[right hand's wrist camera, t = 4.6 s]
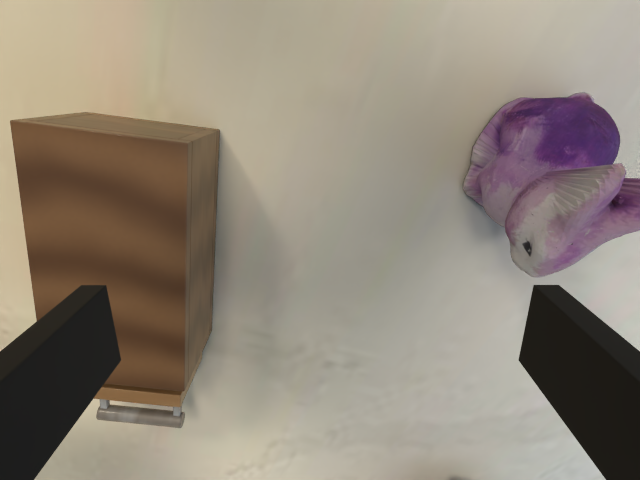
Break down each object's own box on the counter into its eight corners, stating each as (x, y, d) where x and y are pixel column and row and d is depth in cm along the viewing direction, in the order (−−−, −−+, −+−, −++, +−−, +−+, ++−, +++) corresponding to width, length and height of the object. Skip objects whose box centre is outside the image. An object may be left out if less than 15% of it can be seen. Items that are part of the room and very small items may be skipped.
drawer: (200, 404, 41) (179, 458, 35) (106, 394, 41) (68, 448, 35) (207, 177, 33) (182, 197, 27) (89, 162, 33) (37, 179, 27)
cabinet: (211, 330, 39) (184, 392, 31) (99, 318, 39) (43, 377, 31) (219, 129, 33) (187, 143, 25) (85, 112, 32) (9, 120, 24)
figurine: (459, 229, 35) (551, 323, 21) (456, 106, 32) (562, 121, 18) (571, 214, 35) (740, 300, 21) (580, 87, 31) (791, 87, 17)
